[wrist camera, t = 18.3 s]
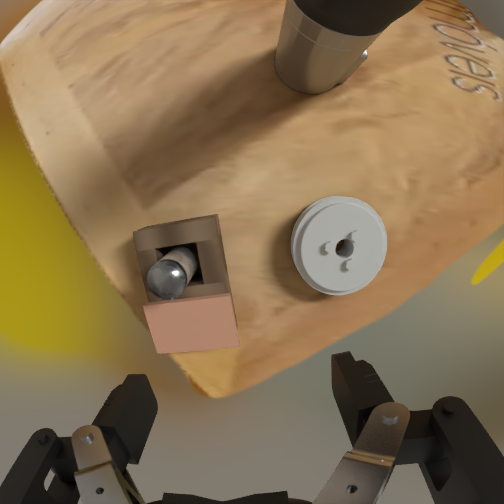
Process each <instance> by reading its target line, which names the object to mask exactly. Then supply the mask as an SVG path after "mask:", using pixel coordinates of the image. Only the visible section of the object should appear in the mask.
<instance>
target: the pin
mask: <svg viewBox="0 0 504 504" xmlns="http://www.w3.org/2000/svg"><path fill="white" fill-rule="evenodd" d="M199 265H200V260H199V255H198V250H197V245H196V244H195V243H193V242H192V243H186V244H180V245H177V246H176V247H175V248H174V249H173V250H171V251H170V252H169V253H168V254H166V255H165V256H164V257H163V258H162V259H160V260H159V261H158V262H157V263H156V264H155V265H153V266H152V267H151V268H150V270H149V272H148V275H147V283H148V287H149V289H150V290H151V292H152V293H153V294H154V295H155V296H157V297H158V298H160V299H163V300H173V299H175V298H177V297H179V296H180V295H181V294H182V292H183V291H184V289H185V287H186V286H187V284H188V283H189V281H190V279H191V278H192V276H193V275H194V273H195V272H196V270H197V268H198V267H199Z"/></svg>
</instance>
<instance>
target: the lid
mask: <svg viewBox="0 0 504 504" xmlns="http://www.w3.org/2000/svg"><path fill="white" fill-rule="evenodd" d="M342 239H344V245H343V247H342V248H341V249H340V250H339V251H335V249H336V245H337V243H338V242H339V241H340V240H342ZM386 251H387V235H386V230H385V227H384V224H383V222H382V220H381V218H380V217H379V215H378V214H377V213H376V211H375V210H374V209H373V208H372V207H370V206H369V205H368V204H366V203H365V202H363V201H361V200H358V199H356V198H352V197H344V196H331V197H326V198H323V199H320V200H318V201H316V202H314V203H313V204H311V205H310V206H308V207H307V208H306V209H305V210H304V211H303V212H302V214H301V215H300V216H299V218H298V219H297V221H296V223H295V225H294V228H293V231H292V235H291V255H292V258H293V261H294V264H295V266H296V268H297V269H298V271H299V273H300V275H301V276H302V278H303V279H304V280H305V281H306V282H307V283H308V284H309V285H310V286H311V287H313V288H314V289H316V290H318V291H320V292H322V293H325V294H330V295H345V294H350V293H353V292H355V291H358V290H360V289H361V288H363V287H364V286H366V285H367V284H368V283H370V282H371V281H372V280H373V279H374V277H375V276H376V275H377V274H378V272H379V270H380V269H381V267H382V265H383V262H384V260H385V256H386Z"/></svg>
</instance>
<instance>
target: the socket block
mask: <svg viewBox="0 0 504 504" xmlns="http://www.w3.org/2000/svg"><path fill="white" fill-rule="evenodd" d="M133 236H134V241H135V246H136V250H137V255H138V260H139V264H140V268H141V273H142V277H143V281H144V285H145V289H146V293H147V297H148V300H149V302H158V301H167V300H163V299H160V298H158V297H157V296H155V295H154V294H153V293H152V292H151V290H150V289H149V287H148V283H147V275H148V272H149V270H150V268H151V267H152V266H153V265H155V264H156V263H157V262H158V261H159V260H160V259H162V258H163V257H164V256H165V255H166V254H168V249H167V246H174V245H180V244H186V243H192V242H196V244H197V250H198V255H199V260H200V265H201V271H202V274H197V275H193V276H192V278H191V279H190V281H189V283H188V284H187V286H186V287H185V289H184V291H183V292H182V294H181V295H180V296H179V297H177V298H175V299H173V300H176V299H184V298H193V297H201V296H209V295H217V294H224V293H230V295H231V300H232V294H231V289H230V283H229V277H228V272H227V266H226V260H225V254H224V249H223V243H222V237H221V231H220V225H219V219H218V214H216V215H209V216H203V217H197V218H191V219H186V220H180V221H174V222H169V223H163V224H158V225H152V226H147V227H144V228H142V229H139V230H137V231H134V232H133ZM232 305H233V300H232ZM233 311H234V316H235V310H234V305H233ZM235 321H236V316H235ZM236 326H237V321H236Z"/></svg>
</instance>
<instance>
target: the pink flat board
mask: <svg viewBox="0 0 504 504" xmlns="http://www.w3.org/2000/svg"><path fill="white" fill-rule="evenodd" d="M143 309H144V312H145V316H146V319H147V322H148V326H149V329H150V332H151V335H152V338H153V342H154V345H155V348H156V351H157V353H158V354H160V353H177V352H191V351H203V350H214V349H224V348H233V347H240V342H239V336H238V331H237V326H236V321H235V316H234V311H233V305H232V300H231V295H230V293H224V294H217V295H209V296H201V297H193V298H184V299H176V300H167V301H158V302H148V303H145V304H144V305H143Z"/></svg>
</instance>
